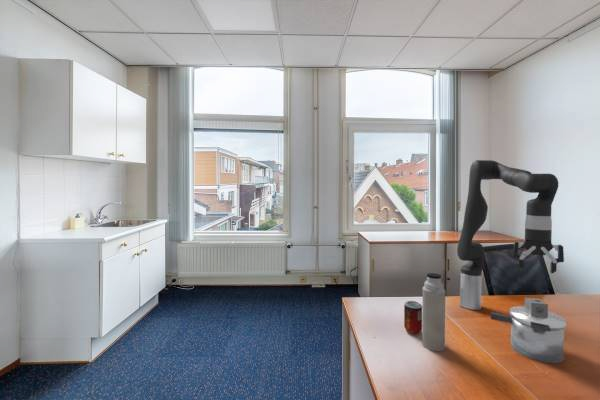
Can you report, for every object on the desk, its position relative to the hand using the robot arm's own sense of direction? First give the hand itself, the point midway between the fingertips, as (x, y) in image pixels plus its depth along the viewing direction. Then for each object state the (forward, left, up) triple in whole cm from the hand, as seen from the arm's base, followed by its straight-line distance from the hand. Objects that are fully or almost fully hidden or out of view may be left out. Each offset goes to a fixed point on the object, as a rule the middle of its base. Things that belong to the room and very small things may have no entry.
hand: (536, 270), depth 104 cm
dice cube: (0, +1, -17) cm, 17 cm away
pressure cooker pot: (-3, 0, -30) cm, 30 cm away
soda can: (-41, -11, -30) cm, 52 cm away
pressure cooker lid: (0, -2, -18) cm, 18 cm away
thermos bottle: (-32, -18, -30) cm, 48 cm away
